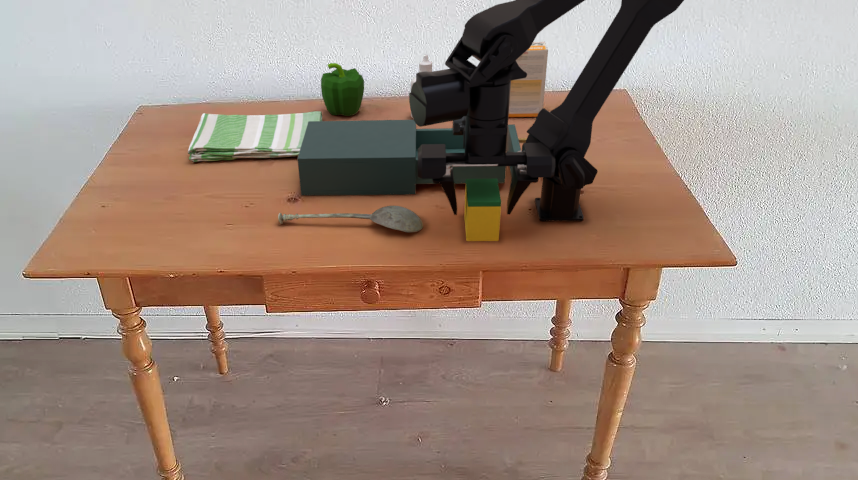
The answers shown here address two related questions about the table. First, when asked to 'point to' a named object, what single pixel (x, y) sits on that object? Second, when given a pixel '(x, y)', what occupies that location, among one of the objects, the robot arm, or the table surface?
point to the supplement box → (529, 82)
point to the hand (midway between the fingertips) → (481, 213)
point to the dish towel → (249, 136)
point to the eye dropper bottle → (423, 68)
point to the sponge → (482, 210)
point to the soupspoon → (374, 218)
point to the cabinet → (358, 158)
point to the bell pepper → (342, 90)
